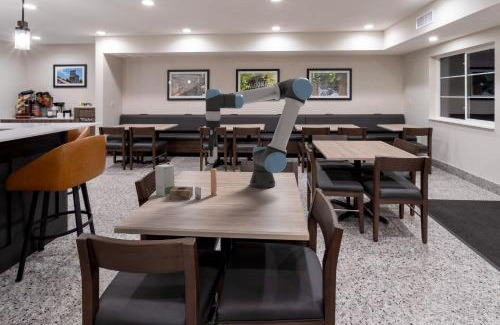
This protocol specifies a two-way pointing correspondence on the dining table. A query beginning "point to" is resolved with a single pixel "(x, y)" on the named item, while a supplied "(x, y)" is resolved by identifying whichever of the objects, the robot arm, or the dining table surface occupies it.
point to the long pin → (213, 182)
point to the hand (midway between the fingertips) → (213, 161)
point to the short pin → (197, 193)
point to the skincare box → (164, 179)
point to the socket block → (181, 193)
